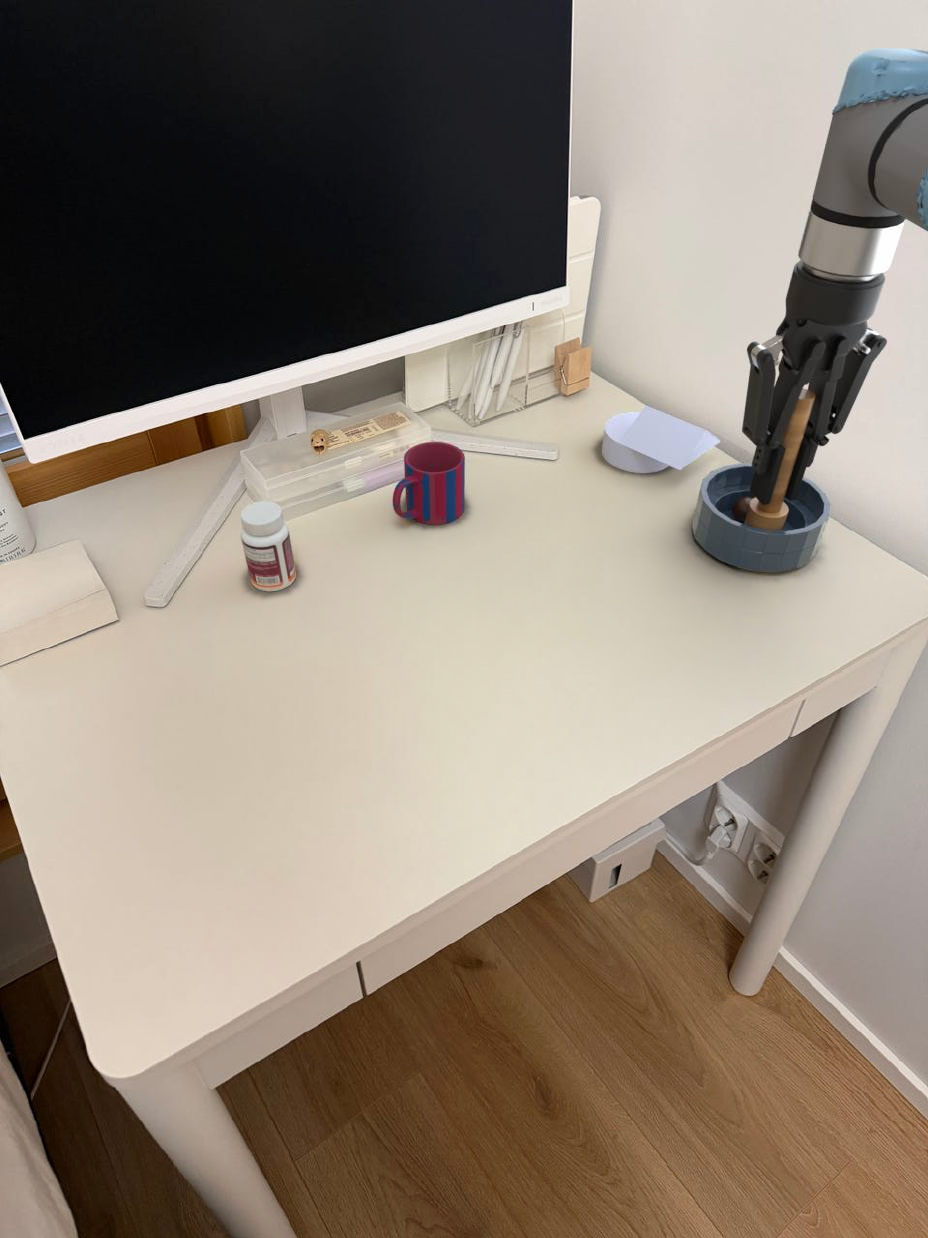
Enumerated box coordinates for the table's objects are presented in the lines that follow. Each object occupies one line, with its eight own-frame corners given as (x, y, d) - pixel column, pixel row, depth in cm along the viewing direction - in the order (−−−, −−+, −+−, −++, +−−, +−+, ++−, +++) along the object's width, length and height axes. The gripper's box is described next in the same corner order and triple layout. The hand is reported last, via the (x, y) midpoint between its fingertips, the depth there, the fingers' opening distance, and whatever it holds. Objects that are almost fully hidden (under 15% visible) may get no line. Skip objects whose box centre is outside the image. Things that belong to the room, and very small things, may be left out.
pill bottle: (277, 558, 92) (265, 492, 86) (305, 577, 90) (295, 511, 84) (240, 578, 89) (226, 512, 84) (269, 599, 87) (256, 532, 81)
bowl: (840, 564, 92) (856, 522, 88) (727, 586, 89) (739, 543, 85) (774, 496, 101) (786, 455, 97) (670, 513, 98) (679, 472, 95)
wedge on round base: (715, 465, 106) (629, 427, 113) (726, 416, 102) (636, 380, 108) (674, 494, 101) (587, 453, 108) (685, 444, 97) (593, 405, 103)
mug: (476, 508, 99) (477, 457, 94) (412, 545, 94) (410, 493, 89) (436, 485, 102) (435, 434, 98) (372, 519, 97) (368, 468, 93)
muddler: (788, 537, 91) (833, 400, 81) (755, 543, 91) (795, 406, 80) (769, 516, 94) (809, 381, 83) (736, 521, 93) (772, 386, 83)
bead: (761, 526, 96) (768, 504, 94) (737, 530, 95) (743, 508, 93) (747, 511, 98) (754, 489, 96) (724, 515, 97) (729, 493, 95)
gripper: (891, 242, 78) (817, 465, 94) (738, 258, 75) (688, 486, 90) (946, 273, 72) (858, 504, 88) (784, 291, 69) (723, 527, 85)
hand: (772, 494), depth 89 cm, fingers closed on muddler, 2 cm apart
